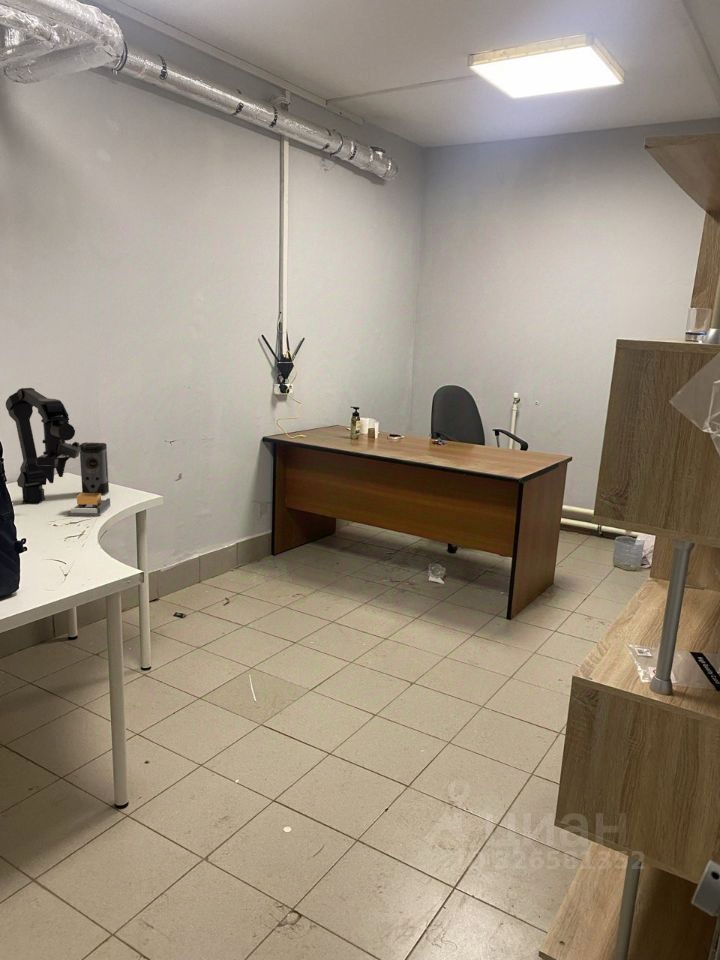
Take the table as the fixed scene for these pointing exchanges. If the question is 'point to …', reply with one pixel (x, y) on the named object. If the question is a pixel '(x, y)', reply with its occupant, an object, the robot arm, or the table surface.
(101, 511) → the dock
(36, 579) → the table surface
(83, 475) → the electronic device
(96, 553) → the table surface
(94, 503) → the trolley
